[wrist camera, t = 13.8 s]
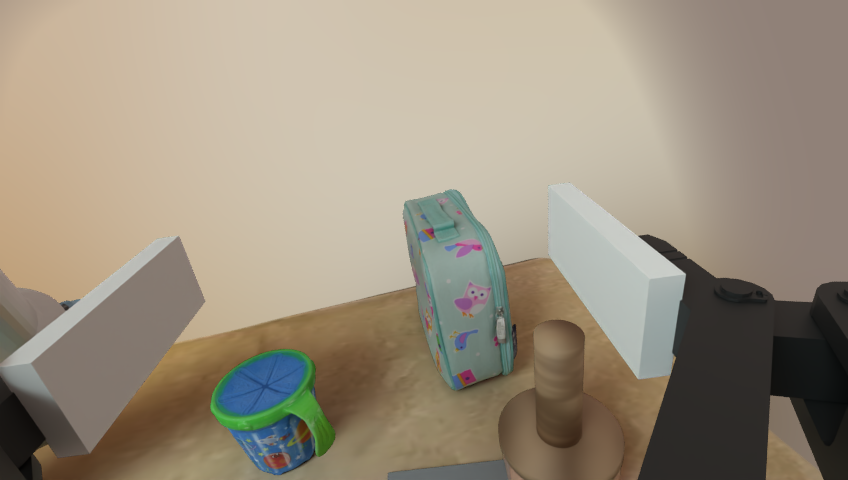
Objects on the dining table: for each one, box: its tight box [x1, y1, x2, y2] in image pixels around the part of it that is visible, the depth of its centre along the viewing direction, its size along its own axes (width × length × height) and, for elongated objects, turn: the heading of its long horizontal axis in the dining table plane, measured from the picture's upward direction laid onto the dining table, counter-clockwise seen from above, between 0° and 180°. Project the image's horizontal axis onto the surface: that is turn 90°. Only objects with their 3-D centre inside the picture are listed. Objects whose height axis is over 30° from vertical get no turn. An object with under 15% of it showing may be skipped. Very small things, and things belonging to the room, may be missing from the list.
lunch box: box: [403, 190, 517, 390], centre depth 58 cm, size 27×10×21 cm, turn 11°
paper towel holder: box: [498, 320, 625, 480], centre depth 37 cm, size 11×11×12 cm
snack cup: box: [210, 349, 335, 475], centre depth 47 cm, size 16×10×10 cm
